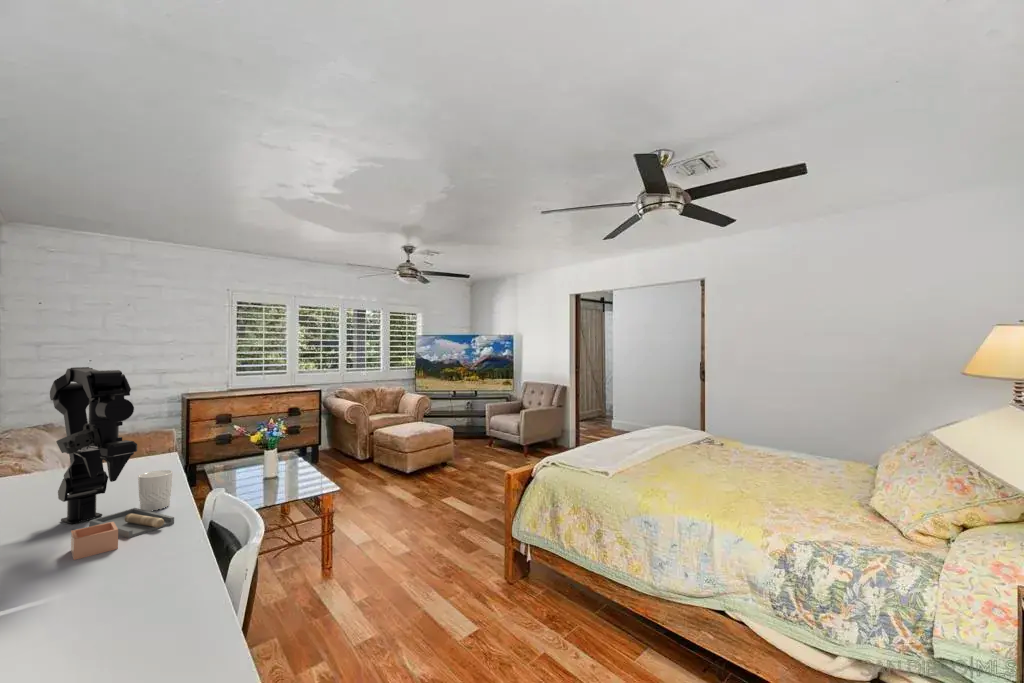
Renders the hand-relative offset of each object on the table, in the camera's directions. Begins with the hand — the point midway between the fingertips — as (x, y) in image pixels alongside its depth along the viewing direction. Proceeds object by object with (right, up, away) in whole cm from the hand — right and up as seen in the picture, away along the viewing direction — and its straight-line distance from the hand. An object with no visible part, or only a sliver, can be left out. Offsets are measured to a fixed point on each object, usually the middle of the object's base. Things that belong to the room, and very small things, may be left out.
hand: (103, 479), depth 113 cm
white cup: (0, -14, +16) cm, 21 cm away
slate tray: (+6, -13, +1) cm, 14 cm away
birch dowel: (+6, -13, +2) cm, 14 cm away
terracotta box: (+10, -13, -13) cm, 21 cm away
